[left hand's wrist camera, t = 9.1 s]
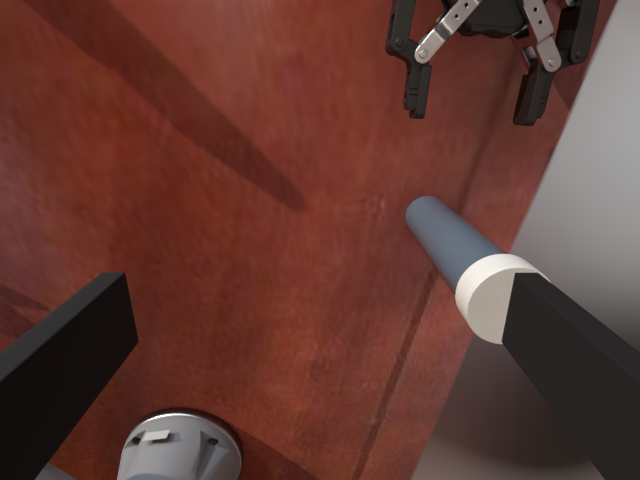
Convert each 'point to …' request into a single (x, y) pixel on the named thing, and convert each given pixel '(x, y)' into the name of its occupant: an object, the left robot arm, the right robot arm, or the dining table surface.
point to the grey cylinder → (447, 238)
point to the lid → (489, 293)
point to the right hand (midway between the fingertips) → (469, 121)
